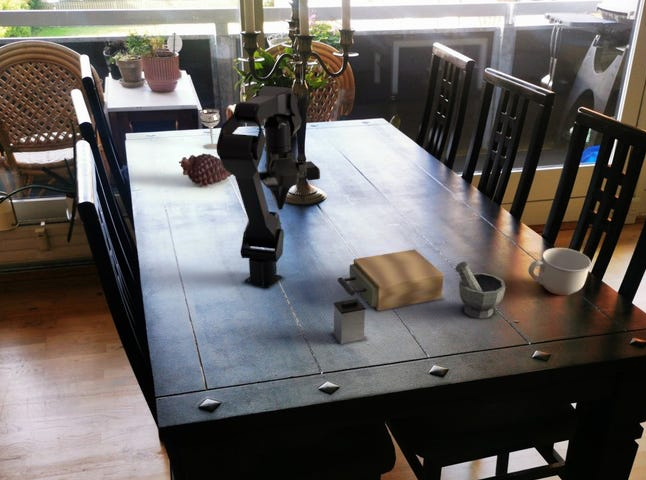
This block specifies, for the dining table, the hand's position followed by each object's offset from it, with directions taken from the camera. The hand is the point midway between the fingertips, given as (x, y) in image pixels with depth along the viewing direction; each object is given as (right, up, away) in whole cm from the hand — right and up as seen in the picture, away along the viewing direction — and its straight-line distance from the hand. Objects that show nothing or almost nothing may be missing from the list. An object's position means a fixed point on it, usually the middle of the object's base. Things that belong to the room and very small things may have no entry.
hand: (280, 209), depth 175 cm
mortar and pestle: (+44, -26, -16) cm, 53 cm away
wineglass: (-30, +38, +81) cm, 94 cm away
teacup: (+64, -20, -7) cm, 67 cm away
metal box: (+16, -32, -26) cm, 44 cm away
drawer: (+24, -21, -11) cm, 33 cm away
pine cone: (-26, +18, +49) cm, 58 cm away
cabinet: (+27, -21, -9) cm, 35 cm away
